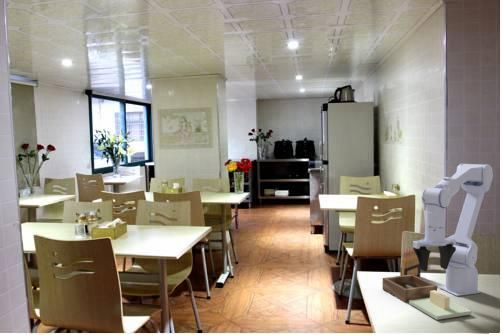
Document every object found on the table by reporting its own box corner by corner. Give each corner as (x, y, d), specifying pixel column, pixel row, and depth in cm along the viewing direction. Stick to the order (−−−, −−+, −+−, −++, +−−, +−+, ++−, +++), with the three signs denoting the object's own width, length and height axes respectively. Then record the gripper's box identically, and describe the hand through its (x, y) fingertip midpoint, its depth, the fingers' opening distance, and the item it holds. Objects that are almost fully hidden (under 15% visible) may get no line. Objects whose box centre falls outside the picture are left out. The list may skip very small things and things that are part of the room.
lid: (441, 301, 130) (441, 285, 130) (471, 317, 118) (471, 299, 118) (409, 306, 127) (409, 289, 126) (436, 322, 115) (437, 304, 115)
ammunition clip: (404, 283, 146) (405, 249, 145) (399, 281, 147) (400, 248, 147) (420, 276, 153) (421, 245, 152) (416, 275, 154) (416, 244, 153)
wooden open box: (412, 285, 143) (412, 274, 143) (436, 298, 132) (437, 285, 131) (382, 289, 140) (382, 278, 139) (405, 302, 128) (405, 290, 128)
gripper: (424, 230, 121) (423, 275, 122) (464, 227, 126) (462, 271, 126) (408, 225, 128) (407, 268, 129) (446, 223, 132) (445, 264, 133)
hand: (433, 269), depth 128 cm, fingers open, 7 cm apart
